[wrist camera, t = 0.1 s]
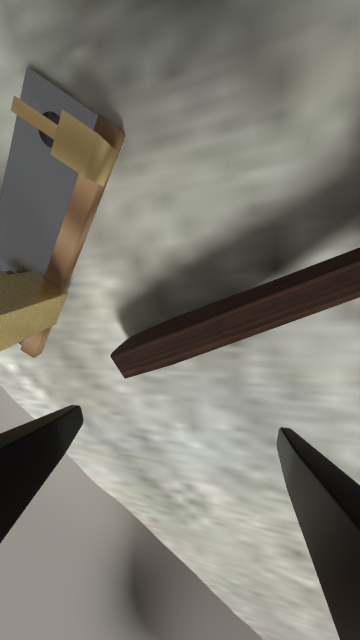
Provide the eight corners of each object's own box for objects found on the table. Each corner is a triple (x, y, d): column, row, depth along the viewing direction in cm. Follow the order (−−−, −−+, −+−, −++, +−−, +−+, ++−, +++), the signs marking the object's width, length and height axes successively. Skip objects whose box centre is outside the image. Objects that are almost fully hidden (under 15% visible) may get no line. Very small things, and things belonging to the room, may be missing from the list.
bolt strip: (31, 71, 18) (25, 65, 17) (101, 119, 18) (97, 115, 18) (-21, 315, 28) (-26, 317, 27) (25, 344, 28) (21, 346, 27)
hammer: (154, 349, 29) (443, 245, 17) (107, 410, 20) (721, 267, 7) (136, 320, 28) (432, 186, 16) (78, 369, 18) (744, 114, 6)
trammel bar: (56, 87, 18) (11, 44, 14) (130, 138, 18) (106, 110, 14) (-5, 325, 28) (-41, 338, 24) (44, 355, 28) (16, 373, 24)
